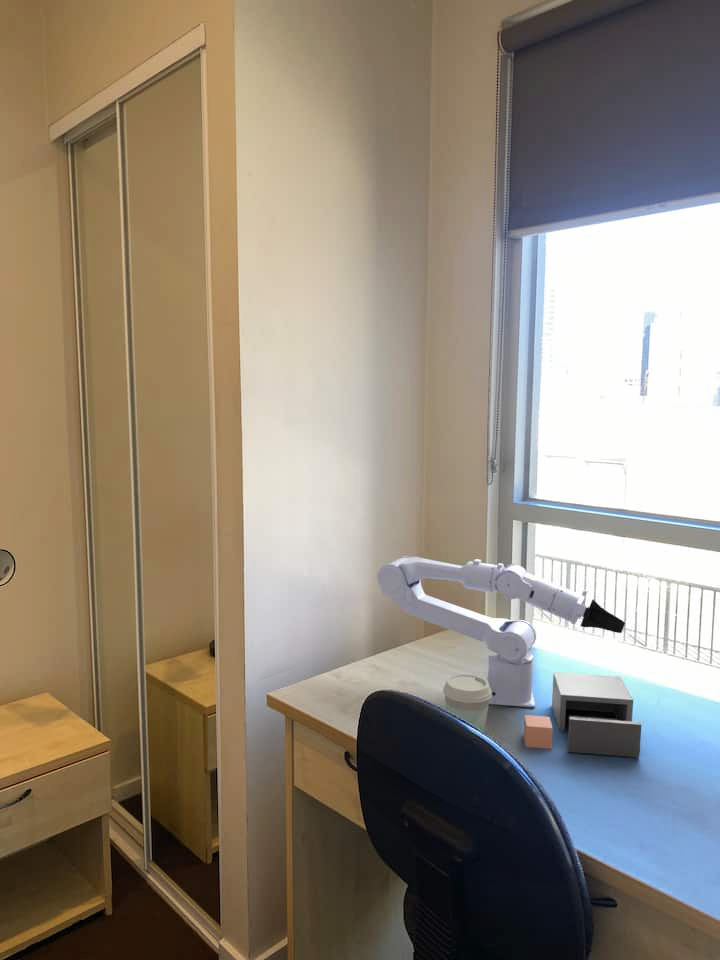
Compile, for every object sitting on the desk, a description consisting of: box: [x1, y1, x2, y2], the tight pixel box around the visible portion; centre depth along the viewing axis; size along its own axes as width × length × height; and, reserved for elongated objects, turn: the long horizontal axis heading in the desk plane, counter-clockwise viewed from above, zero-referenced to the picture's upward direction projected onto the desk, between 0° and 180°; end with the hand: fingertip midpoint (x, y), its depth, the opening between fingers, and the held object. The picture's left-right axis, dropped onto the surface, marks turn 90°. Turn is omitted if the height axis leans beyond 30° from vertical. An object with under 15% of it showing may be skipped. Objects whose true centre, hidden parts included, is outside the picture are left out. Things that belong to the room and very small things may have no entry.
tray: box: [567, 714, 642, 758], centre depth 131 cm, size 12×11×6 cm
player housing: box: [551, 671, 634, 732], centre depth 139 cm, size 13×11×7 cm
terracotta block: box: [523, 714, 553, 750], centre depth 131 cm, size 4×4×4 cm
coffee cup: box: [442, 673, 492, 733], centre depth 128 cm, size 8×8×12 cm
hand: (623, 628), depth 138 cm, fingers open, 7 cm apart
